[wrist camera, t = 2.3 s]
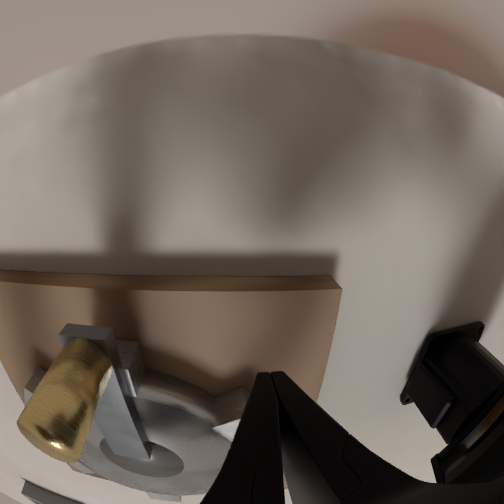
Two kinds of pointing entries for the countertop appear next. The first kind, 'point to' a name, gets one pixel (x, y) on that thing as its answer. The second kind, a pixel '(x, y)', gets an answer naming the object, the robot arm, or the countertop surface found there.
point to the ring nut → (128, 417)
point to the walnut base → (177, 324)
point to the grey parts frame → (43, 495)
